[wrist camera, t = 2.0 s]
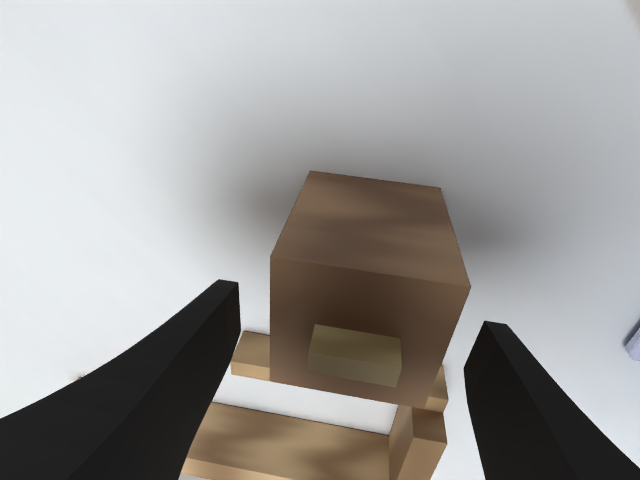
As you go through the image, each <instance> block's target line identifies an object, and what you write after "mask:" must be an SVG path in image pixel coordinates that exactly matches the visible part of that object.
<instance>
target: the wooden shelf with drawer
mask: <svg viewBox="0 0 640 480" xmlns="http://www.w3.org/2000/svg"><path fill="white" fill-rule="evenodd" d="M231 374H233V375H238V376H244V377H249V378H255V379H260V380H266V381H270V336H269V335H263V334H257V333H251V332H245V331H243V334H242V336H241V338H240V341H239V343H238V345H237V347H236V350H235V352H234V354H233V356H232V359H231ZM80 378H81V377H79V378H78V379H80ZM78 379H77V380H78ZM276 383H277V382H276ZM287 385H288V384H287ZM298 387H299V386H298ZM309 389H310V388H309ZM320 391H321V390H320ZM331 393H332V392H331ZM342 395H343V394H342ZM353 397H354V396H353ZM364 399H365V398H364ZM375 401H376V400H375ZM386 403H387V402H386ZM447 403H448V394H447V388H446V382H445V375H444V369H443V365H441V366H440V369H439V371H438V374H437V377H436V379H435V382H434V384H433V387H432V390H431V392H430V395H429V397H428V400H427V402H426V405H425V408H424V409H420V408H414V407H409V406H403V405H399V406H398V409H397V412H396V416H395V419H394V422H393V425H392V428H391V431H390V434H389V436H387V435H382V434H377V433H371V432H366V431H361V430H356V429H350V428H345V427H340V426H334V425H329V424H324V423H319V422H313V421H308V420H303V419H298V418H292V417H287V416H282V415H276V414H271V413H266V412H261V411H255V410H250V409H245V408H240V407H234V406H229V405H224V404H218V403H213V402H211V404H210V406H209V408H208V410H207V412H206V414H205V416H204V418H203V420H202V422H201V424H200V427H199V429H198V431H197V433H196V435H195V437H194V440H193V442H192V444H191V447H190V449H189V452H188V454H187V457H186V460H185V462H184V465H183V468H182V471H181V473H182V474H186V475H191V476H196V477H201V478H206V479H210V480H430V479H431V477H432V475H433V472H434V470H435V468H436V466H437V464H438V462H439V460H440V458H441V456H442V454H443V452H444V450H445V448H446V446H447V437H446V430H445V423H444V416H443V412H444V409H445V407H446V405H447ZM397 405H398V404H397Z"/></svg>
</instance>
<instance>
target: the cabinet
mask: <svg viewBox="0 0 640 480" xmlns="http://www.w3.org/2000/svg"><path fill="white" fill-rule="evenodd" d="M470 289H471V285H470V282H469V279H468V275H467V272H466V269H465V266H464V263H463V259H462V256H461V253H460V250H459V247H458V243H457V240H456V237H455V234H454V231H453V227H452V224H451V221H450V218H449V215H448V211H447V208H446V205H445V202H444V199H443V195H442V192H441V189H440V188H437V187H430V186H422V185H415V184H407V183H399V182H392V181H384V180H377V179H369V178H361V177H354V176H346V175H339V174H331V173H323V172H316V171H310V172H309V175H308V177H307V179H306V181H305V183H304V185H303V187H302V190H301V192H300V194H299V196H298V198H297V200H296V202H295V205H294V207H293V209H292V211H291V213H290V215H289V217H288V220H287V222H286V224H285V226H284V228H283V230H282V232H281V235H280V237H279V239H278V241H277V243H276V245H275V247H274V250H273V252H272V254H271V256H270V381H271V382H277V383H282V384H288V385H293V386H299V387H304V388H310V389H315V390H321V391H326V392H332V393H337V394H343V395H348V396H354V397H359V398H365V399H370V400H376V401H381V402H387V403H392V404H398V405H403V406H409V407H414V408H420V409H424V408H425V405H426V402H427V400H428V397H429V395H430V392H431V390H432V387H433V384H434V382H435V379H436V377H437V374H438V371H439V369H440V366H441V364H442V361H443V359H444V356H445V353H446V351H447V348H448V346H449V343H450V340H451V338H452V335H453V333H454V330H455V327H456V325H457V322H458V320H459V317H460V315H461V312H462V309H463V307H464V304H465V302H466V299H467V296H468V294H469V291H470Z"/></svg>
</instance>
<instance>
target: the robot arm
mask: <svg viewBox="0 0 640 480" xmlns="http://www.w3.org/2000/svg"><path fill="white" fill-rule="evenodd" d="M240 332H241V323H240V305H239V286H238V282H233V281H226V280H220V279H219V280H217V281H216V282H215V283H213V284H212V285H211V286H210V287H208V288H207V289H206V290H205V291H204V292H202V293H201V294H200V295H199V296H198V297H196V298H195V299H194V300H193V301H191V302H190V303H189V304H188V305H187V306H185V307H184V308H183V309H182V310H180V311H179V312H178V313H177V314H175V315H174V316H173V317H171V318H170V319H169V320H168V321H166V322H165V323H164V324H162V325H161V326H160V327H159V328H157V329H156V330H154V331H153V332H152V333H150V334H149V335H147V336H146V337H145V338H143V339H142V340H140V341H139V342H138V343H136V344H135V345H133V346H132V347H131V348H129V349H128V350H126V351H125V352H123V353H122V354H120V355H118V356H117V357H115V358H114V359H112V360H111V361H109V362H107V363H106V364H104V365H103V366H101V367H99V368H98V369H96V370H94V371H93V372H91V373H89V374H87V375H86V376H84V377H82V378H80V379H78V380H76V381H75V382H73V383H71V384H69V385H67V386H65V387H63V388H62V389H60V390H58V391H56V392H54V393H52V394H50V395H49V396H47V397H45V398H43V399H41V400H39V401H37V402H35V403H33V404H31V405H29V406H26V407H24V408H22V409H20V410H18V411H16V412H14V413H12V414H10V415H7V416H5V417H3V418H1V419H0V480H178V479H179V476H180V473H181V471H182V468H183V465H184V462H185V460H186V457H187V454H188V452H189V449H190V447H191V444H192V442H193V440H194V437H195V435H196V433H197V431H198V429H199V427H200V424H201V422H202V420H203V418H204V416H205V414H206V412H207V410H208V408H209V406H210V404H211V402H212V400H213V397H214V395H215V393H216V391H217V389H218V387H219V385H220V383H221V381H222V379H223V377H224V375H225V372H226V370H227V368H228V366H229V364H230V362H231V359H232V356H233V353H234V350H235V347H236V344H237V341H238V338H239V335H240ZM625 350H626V352H627V354H628V355H629V357H631V358H632V359H634V360H638V361H640V328H639V329H638V331H637V332H636V333H635V335H634V336H633V337H632V339H631V340H630V341H629V343H628V344H627V345H626V347H625ZM464 378H465V388H466V396H467V404H468V408H469V413H470V417H471V421H472V426H473V430H474V434H475V438H476V442H477V446H478V450H479V455H480V459H481V463H482V467H483V471H484V475H485V479H486V480H640V468H639V467H638V466H637V465H636V464H634V463H633V462H632V461H631V460H630V459H629V458H628V457H627V456H626V455H625V454H624V453H623V452H622V451H621V450H620V449H619V448H617V447H616V446H615V445H614V444H613V443H612V442H611V441H610V440H609V439H608V438H607V437H606V436H605V435H604V434H603V433H602V432H601V431H600V430H599V428H598V427H597V426H596V425H595V424H594V423H593V422H592V421H591V420H590V419H589V418H588V417H587V416H586V415H585V414H584V413H583V412H582V411H581V410H580V409H579V408H578V406H577V405H576V404H575V403H574V402H573V401H572V400H571V399H570V398H569V397H568V395H567V394H566V393H565V392H564V391H563V390H562V389H561V388H560V386H559V385H558V384H557V383H556V382H555V381H554V380H553V378H552V377H551V376H550V375H549V374H548V373H547V371H546V370H545V369H544V368H543V367H542V366H541V364H540V363H539V362H538V361H537V360H536V358H535V357H534V356H533V355H532V354H531V352H530V351H529V350H528V349H527V348H526V346H525V345H524V344H523V343H522V342H521V340H520V339H519V338H518V337H517V336H516V335H515V333H514V332H513V331H512V330H511V329H510V328H509V326H508V325H507V324H502V323H496V322H489V321H484V323H483V325H482V327H481V330H480V332H479V334H478V336H477V339H476V341H475V343H474V345H473V348H472V350H471V352H470V355H469V357H468V359H467V361H466V364H465V366H464Z"/></svg>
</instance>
